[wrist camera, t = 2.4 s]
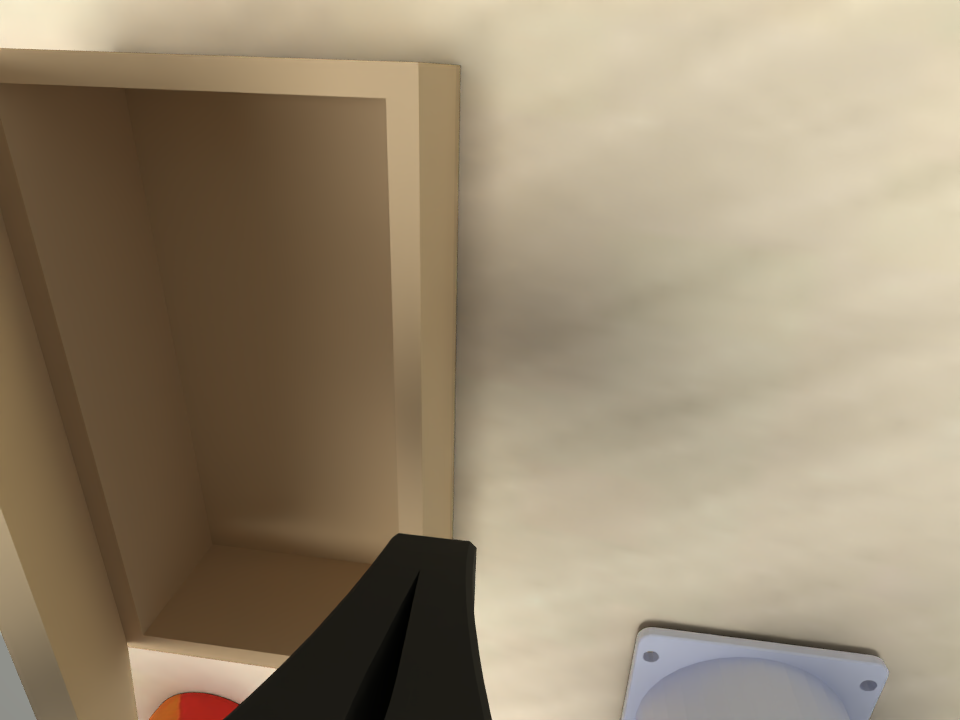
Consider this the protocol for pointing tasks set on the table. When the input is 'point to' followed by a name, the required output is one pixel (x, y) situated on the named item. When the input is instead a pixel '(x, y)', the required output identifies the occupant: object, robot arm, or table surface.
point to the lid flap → (50, 541)
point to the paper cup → (194, 707)
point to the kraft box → (240, 322)
